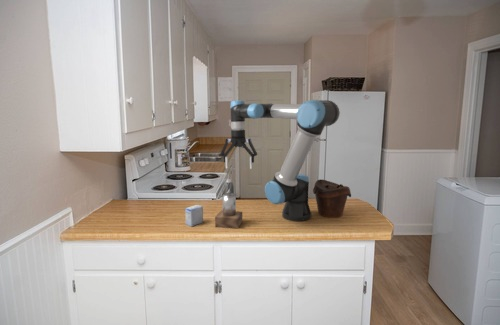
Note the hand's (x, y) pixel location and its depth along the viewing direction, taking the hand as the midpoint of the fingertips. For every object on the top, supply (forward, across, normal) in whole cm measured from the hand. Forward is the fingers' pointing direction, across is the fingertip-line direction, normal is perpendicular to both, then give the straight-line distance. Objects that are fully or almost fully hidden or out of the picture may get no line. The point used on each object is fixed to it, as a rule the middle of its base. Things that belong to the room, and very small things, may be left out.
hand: (239, 168), depth 189 cm
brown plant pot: (+25, -49, -4) cm, 56 cm away
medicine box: (+24, +17, +25) cm, 39 cm away
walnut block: (+24, 0, +22) cm, 33 cm away
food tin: (+19, 0, +22) cm, 29 cm away
